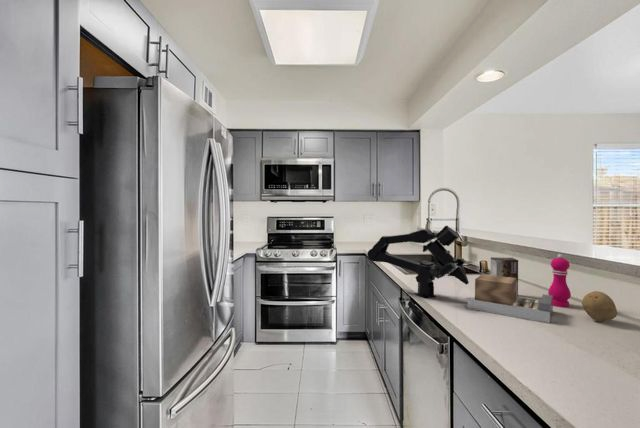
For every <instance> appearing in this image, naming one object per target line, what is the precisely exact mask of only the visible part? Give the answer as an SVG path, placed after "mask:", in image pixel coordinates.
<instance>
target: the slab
mask: <svg viewBox="0 0 640 428" xmlns="http://www.w3.org/2000/svg"><path fill="white" fill-rule="evenodd" d="M474 299H476V300H482V301H488V302H494V303H500V304H507V305H512V304H513V303H514V301H515V300H516V278H511V277H502V276H494V275H491V274H484V273H482V274H480V275H479V276H478V277H476V278H475V279H474Z"/></svg>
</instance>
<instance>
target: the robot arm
mask: <svg viewBox="0 0 640 428" xmlns="http://www.w3.org/2000/svg"><path fill="white" fill-rule="evenodd" d="M459 238H460V235H459V234H458V232H457V231H456V230H454V229H453V228H451V227H450V226H449V225H445V226H443V228H442V229H441V230H440V231H439V232H432V230H431V229H429V228H424V229H419V230H415V231H412V232H410V233H402V234H396V235H393V234H392V235H382V236H380V238H379V240H378V241H377V242H376V243H375V244H374V245H373V246H372V247H371V248H370V249H369V250H368V251H367V257H368V260H369V261H371V262H376V263H386V264H390V265H393V266H396V267H399V268H402V269H405V270H408V271H411V272H414V273H416V274H417V275H416V276H415V279H416V282H417V292H414V295H416V296H419V297H421V298H425V299H426V298H431V297H432V298H434V297H437V294H436V293H435V286H434V284H435V283H434V281H435V279H438V280H439V279H441V278H443V277H445V276H446V275H447V276H448V277H455V278H456V279H458V280H459V281H460V282H462V283H463V284H465V285H468V284H470V282H469V279H468V276H467V274H466V271H465V268H464V267H465V266H464V264H465V263H466V259H464V258H463V257H459V258H456V257H454V256H453V255H452V253H451V251H450V250H447V248H446V247H445V246H447V247H450V246H451V245H452V244H453V243H454V242H455V241H457V239H459ZM401 243H415V244H416V243H417V244H423V245H422V252H423V253H425V252H427V251H428V252H429V253H430V254H431V255H432V256H433V258H434V259H435V260H434V261H435V262H434V261H433V262H431V261H429V260H426V259H424V260H421V261H419V262H418V261H414V260H411V259H408V258H404V257H401V256H399V255H394V254H392V253H390V252H388V249H389V248H388V247H389V245H390V244H391V245H392V244H401ZM425 243H428V244H426V245H425ZM435 263H436V264H435ZM448 273H449V274H448Z"/></svg>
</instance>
